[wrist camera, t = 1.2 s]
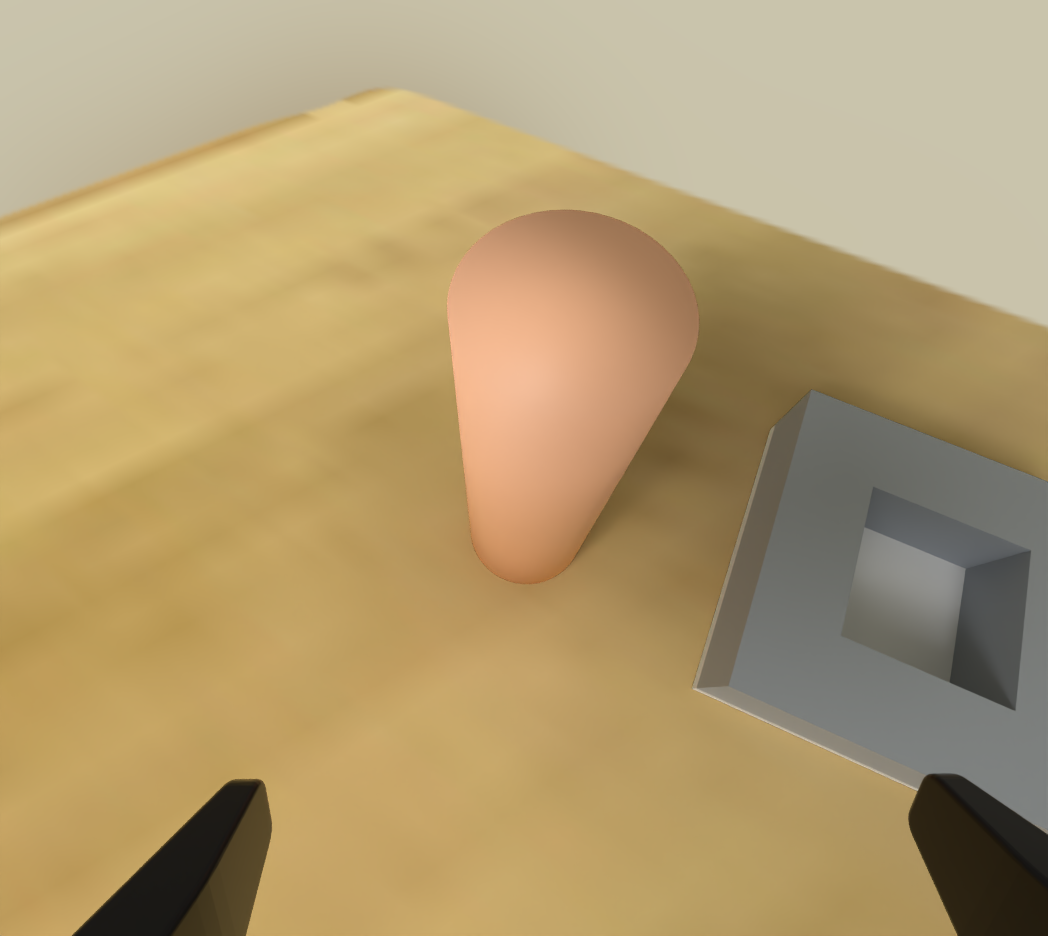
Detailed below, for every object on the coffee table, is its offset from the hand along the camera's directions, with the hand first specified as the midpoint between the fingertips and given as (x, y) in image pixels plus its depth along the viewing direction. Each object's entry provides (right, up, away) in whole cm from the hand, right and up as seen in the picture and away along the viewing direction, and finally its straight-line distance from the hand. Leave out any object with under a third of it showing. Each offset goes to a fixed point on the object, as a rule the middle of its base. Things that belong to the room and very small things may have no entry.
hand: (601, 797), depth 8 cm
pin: (-1, +2, +15) cm, 15 cm away
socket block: (+13, -1, +15) cm, 20 cm away
